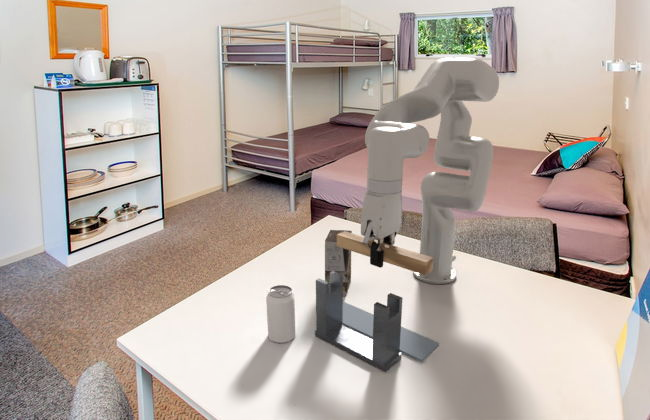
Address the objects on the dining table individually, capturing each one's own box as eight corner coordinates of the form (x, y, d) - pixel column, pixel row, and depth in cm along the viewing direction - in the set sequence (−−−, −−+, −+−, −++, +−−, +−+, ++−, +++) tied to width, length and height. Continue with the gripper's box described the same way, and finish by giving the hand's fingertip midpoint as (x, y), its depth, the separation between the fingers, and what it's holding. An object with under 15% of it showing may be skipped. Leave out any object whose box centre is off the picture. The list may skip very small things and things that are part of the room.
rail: (344, 242, 111) (344, 231, 110) (432, 270, 96) (433, 257, 95) (336, 246, 109) (336, 234, 108) (425, 275, 94) (426, 262, 93)
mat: (344, 303, 121) (344, 301, 120) (439, 345, 103) (439, 343, 103) (324, 316, 115) (324, 314, 115) (421, 362, 97) (422, 359, 97)
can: (280, 325, 111) (278, 281, 107) (301, 333, 108) (300, 289, 104) (262, 338, 106) (259, 292, 102) (283, 347, 103) (282, 301, 99)
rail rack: (331, 325, 111) (331, 270, 106) (401, 359, 98) (404, 298, 94) (314, 336, 107) (314, 279, 102) (385, 372, 94) (388, 310, 89)
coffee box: (347, 296, 124) (347, 242, 119) (324, 294, 126) (323, 240, 120) (351, 281, 133) (352, 230, 128) (330, 279, 134) (330, 228, 129)
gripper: (390, 175, 106) (387, 248, 111) (347, 190, 94) (345, 270, 100) (419, 180, 101) (414, 256, 107) (376, 196, 89) (373, 280, 95)
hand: (381, 262), depth 103 cm, fingers closed on rail, 3 cm apart
